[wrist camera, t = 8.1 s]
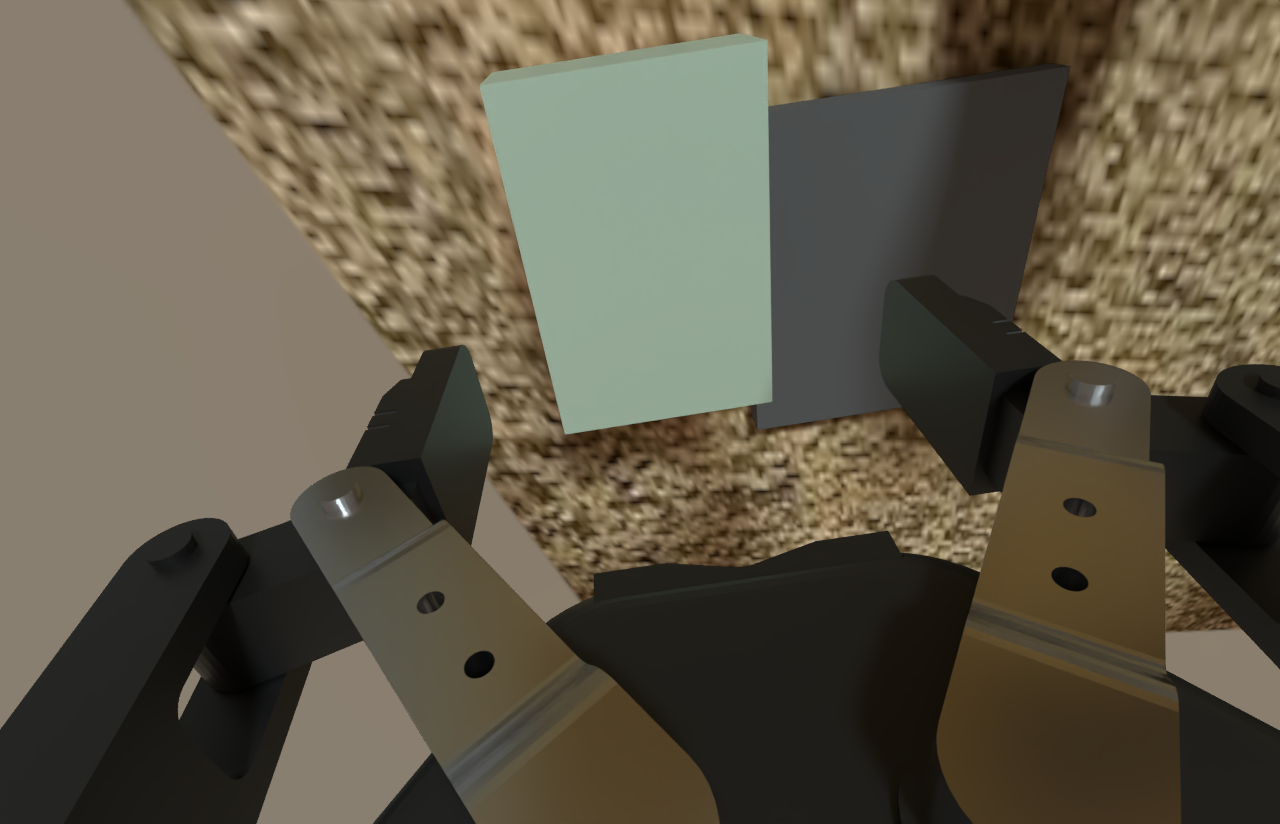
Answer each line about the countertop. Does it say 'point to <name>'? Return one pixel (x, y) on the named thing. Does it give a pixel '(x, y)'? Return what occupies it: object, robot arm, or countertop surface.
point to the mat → (895, 220)
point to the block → (643, 225)
